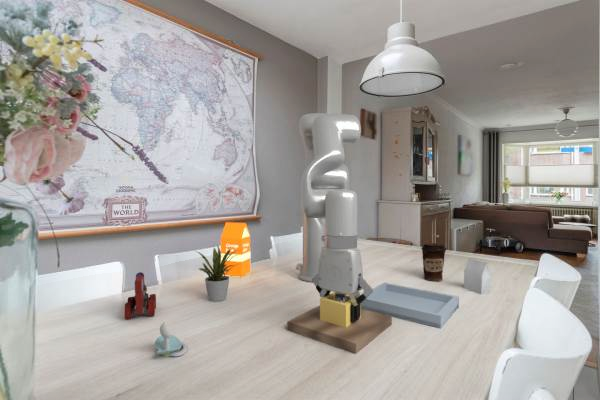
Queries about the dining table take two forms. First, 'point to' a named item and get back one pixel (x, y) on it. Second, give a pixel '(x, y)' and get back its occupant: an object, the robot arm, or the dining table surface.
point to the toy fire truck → (140, 299)
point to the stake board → (341, 329)
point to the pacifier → (169, 343)
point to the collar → (336, 310)
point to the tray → (412, 304)
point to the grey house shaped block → (477, 276)
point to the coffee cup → (433, 261)
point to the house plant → (217, 275)
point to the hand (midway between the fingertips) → (340, 316)
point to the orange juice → (236, 248)
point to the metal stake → (340, 297)
